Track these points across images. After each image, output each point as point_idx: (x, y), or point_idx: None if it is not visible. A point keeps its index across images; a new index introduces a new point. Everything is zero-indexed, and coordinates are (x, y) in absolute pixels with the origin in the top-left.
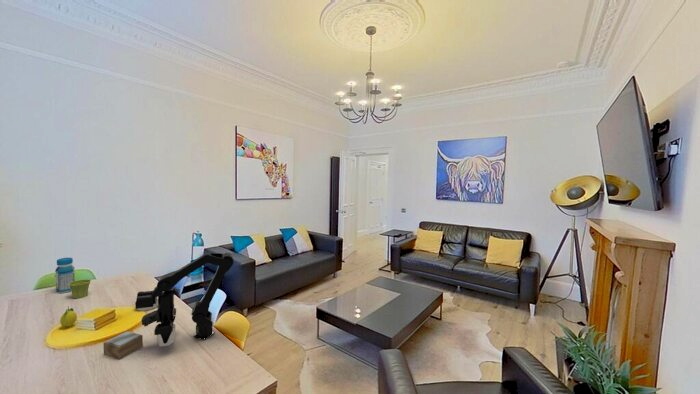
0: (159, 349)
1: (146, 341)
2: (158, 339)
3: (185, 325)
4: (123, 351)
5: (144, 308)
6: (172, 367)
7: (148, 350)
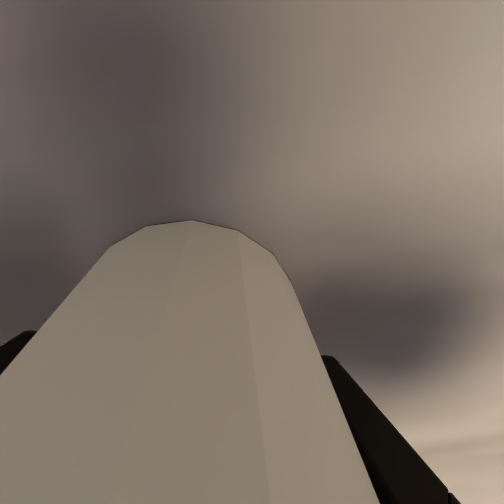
0: (3, 229)
1: (477, 9)
2: (92, 299)
3: (480, 460)
4: None
5: None
6: None
7: (24, 42)
